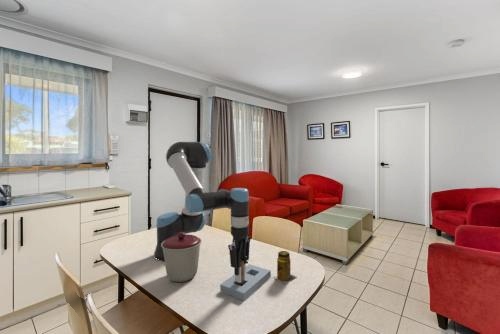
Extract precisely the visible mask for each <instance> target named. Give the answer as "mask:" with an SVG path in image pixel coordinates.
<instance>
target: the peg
mask: <svg viewBox="0 0 500 334" xmlns="http://www.w3.org/2000/svg"><path fill="white" fill-rule="evenodd" d="M240 267H241V283H239V282H237V285H240V286H243V285H244V260H240Z"/></svg>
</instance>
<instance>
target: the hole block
mask: <svg viewBox="0 0 500 334" xmlns="http://www.w3.org/2000/svg"><path fill="white" fill-rule="evenodd" d="M271 275H272V273H271V270H270V269H267V268H263V267H260V266H258V265H257V266H256V265H253V264H246V269H245V278H246V279H245V280H244V285H243V286H240V285H237V282H236V281H235V274H234V273H233V275H231V276H230V277H228V278H227V279H226V280H224V281H223V282H221V283H220V285H219V289H220V290H219V292H220V293H223V294H225V295H229V296H231V297H234V298H236V299H239V300H242V301H244V302H245V300H247V299H248V298H249V297H250V296H251V295H252V294H253V293H254V292H256V291H257V290H258V289H259V288H260V287H261V286H263V284H264V283H266V281H268V280H269V279H270V278H271V277H272V276H271Z"/></svg>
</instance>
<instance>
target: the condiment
mask: <svg viewBox="0 0 500 334" xmlns="http://www.w3.org/2000/svg"><path fill="white" fill-rule="evenodd" d="M276 259H277V260H276V265H277V267H276V268H277V269H276V272H277V275H276V276H274V277H273V279H275V280H277V281H279V282H281V283H283V284H286V285H287V284H288V283H290V282H292V280H294V279H296V278H297V276H295V274H291V257H290V252H289V251H287V250H281V251H279V252H278V253H277V258H276Z"/></svg>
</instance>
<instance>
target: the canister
mask: <svg viewBox="0 0 500 334" xmlns="http://www.w3.org/2000/svg"><path fill="white" fill-rule="evenodd" d="M201 244H202V238H200V237H198V236H196V235H193V234H185V233H184V232H180V233H178V235H176V236H172V237H170V238H168V239H166V240H165V241H163V242H162V243H161V247H162V248H163V253H164V260H165V261H164V266H165V272H166V276H167V277H168V279H169V280H170V281H172V282H176V283H183V282H187V281H190V280H192V279H193V278H194V277H195V276H196V275H197V272H198V268H199V260H200V259H199V258H200V249H201Z"/></svg>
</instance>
